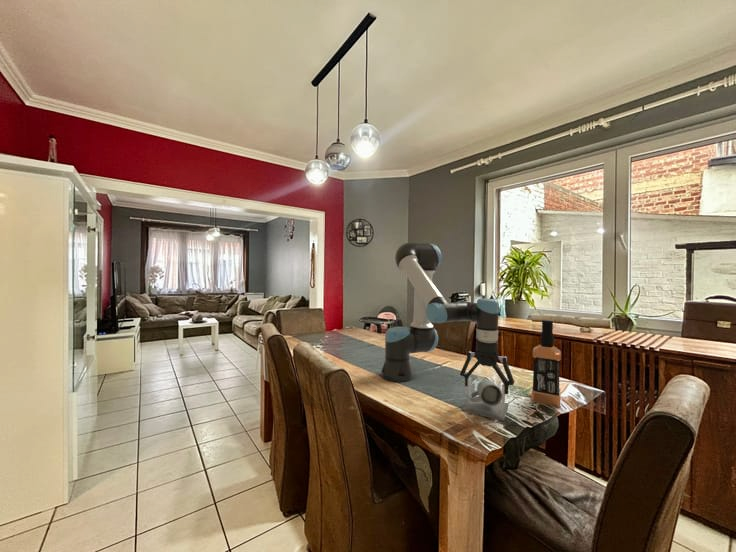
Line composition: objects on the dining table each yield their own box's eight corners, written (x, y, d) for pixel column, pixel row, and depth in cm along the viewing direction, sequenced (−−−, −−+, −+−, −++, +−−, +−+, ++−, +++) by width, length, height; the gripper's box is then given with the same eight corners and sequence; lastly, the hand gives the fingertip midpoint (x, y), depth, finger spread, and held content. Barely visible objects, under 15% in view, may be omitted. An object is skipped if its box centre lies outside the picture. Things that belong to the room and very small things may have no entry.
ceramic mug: (495, 397, 117) (495, 377, 117) (502, 406, 109) (502, 385, 109) (467, 396, 118) (467, 377, 118) (472, 405, 110) (471, 384, 110)
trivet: (462, 410, 111) (462, 408, 111) (470, 397, 123) (470, 395, 123) (503, 421, 104) (503, 418, 104) (508, 405, 116) (508, 403, 116)
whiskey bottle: (560, 407, 115) (562, 323, 114) (530, 401, 120) (532, 320, 119) (560, 398, 124) (561, 319, 123) (532, 392, 129) (534, 317, 128)
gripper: (452, 338, 116) (451, 395, 117) (521, 347, 104) (520, 410, 104) (457, 334, 123) (456, 388, 123) (523, 342, 110) (522, 402, 111)
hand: (485, 398), depth 114 cm, fingers closed on ceramic mug, 11 cm apart
